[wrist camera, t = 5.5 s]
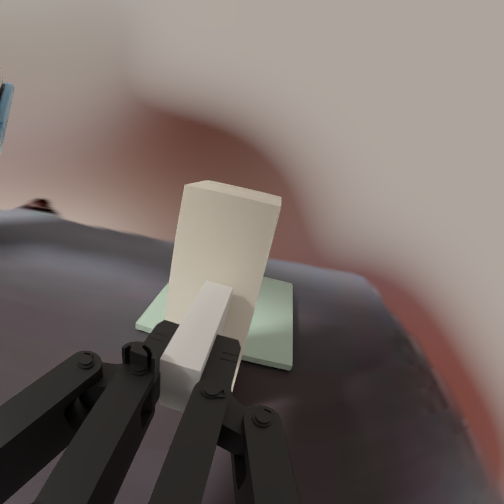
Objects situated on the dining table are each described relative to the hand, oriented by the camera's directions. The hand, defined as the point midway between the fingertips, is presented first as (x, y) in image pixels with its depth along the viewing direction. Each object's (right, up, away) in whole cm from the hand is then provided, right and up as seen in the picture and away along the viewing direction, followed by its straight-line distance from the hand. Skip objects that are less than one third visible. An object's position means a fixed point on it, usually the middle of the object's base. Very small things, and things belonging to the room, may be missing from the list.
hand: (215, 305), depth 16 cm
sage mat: (-1, -3, +16) cm, 16 cm away
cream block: (-2, -7, +5) cm, 9 cm away
